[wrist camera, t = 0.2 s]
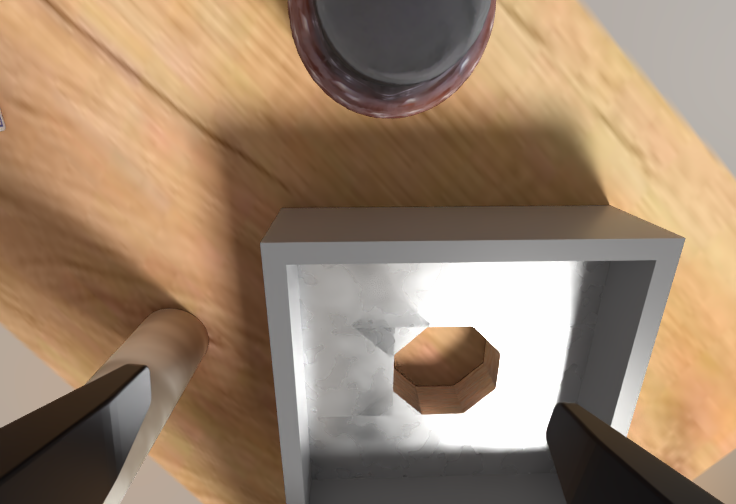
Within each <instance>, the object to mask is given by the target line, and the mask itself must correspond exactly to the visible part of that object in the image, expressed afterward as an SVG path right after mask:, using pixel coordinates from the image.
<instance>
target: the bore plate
mask: <svg viewBox="0 0 736 504" xmlns="http://www.w3.org/2000/svg"><path fill="white" fill-rule="evenodd" d="M609 263H610V261H550V262H470V263H390V264H310V265H297V271H298V286H299V300H300V315H301V330H302V345H303V360H304V375H305V390H306V405H307V420H308V435H309V449H310V464H311V479H312V480H322V479H357V478H391V477H425V476H460V475H494V474H529V473H557V472H556V469H555V466H554V463H553V460H552V457H551V453H550V450H549V447H548V444H547V441H546V428H547V425H548V423H549V420H550V417H551V415H552V412H553V409H554V407H555V405H556V404H557V403H558V402H570V403H576V404H577V402H578V397H579V393H580V389H581V384H582V380H583V376H584V371H585V367H586V363H587V358H588V354H589V350H590V345H591V341H592V337H593V332H594V328H595V324H596V319H597V315H598V311H599V306H600V302H601V298H602V293H603V289H604V285H605V280H606V276H607V272H608V268H609ZM451 326H473V327H474V328H475V329H476V330H477V331H479V332H480V333H481V334H482V335H483V336H484V337H485V338H486V345H485V353H484V362H483V363H482V364H481V365H480V366H478V367H477V368H476V369H475V370H473V371H472V372H471V373H469V374H468V375H467V376H466V377H464V378H463V379H462V380H460V381H459V382H458V383H457V384H455V385H454V386H419V387H416V386H415V385H413V384H412V383H411V382H410V381H409V380H407V379H406V378H405V377H404V376H403V375H401V374H400V373H399V372H398V371H397V370H395V369H394V355H395V354H396V353H397V352H398V351H399V350H401V349H402V348H403V347H404V346H405V345H406V344H408V343H409V342H410V341H411V340H412V339H414V338H415V337H416V336H417V335H418V334H420V333H421V332H422V331H423V330H424V329H425V328H427V327H451Z"/></svg>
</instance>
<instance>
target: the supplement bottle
mask: <svg viewBox="0 0 736 504" xmlns="http://www.w3.org/2000/svg"><path fill="white" fill-rule="evenodd" d="M495 9H496V0H288V14H289V19H290V26H291V31H292V37H293V39H294V42H295V45H296V48H297V51H298V54H299V56H300V58H301V60H302V62H303V64H304V66H305V67H306V69H307V71H308V73H309V74H310V76H311V77H312V79H313V80H314V81H315V82H316V83H317V84H318V86H319V87H320V88H321V89H322V90H323V91H324V92H325V93H326V94H327V95H328V96H330V97H331V98H332V99H333V100H334V101H336V102H337V103H339V104H341V105H342V106H344V107H346V108H347V109H349V110H352V111H354V112H356V113H360V114H363V115H366V116H370V117H375V118H402V117H408V116H412V115H415V114H418V113H421V112H424V111H426V110H429V109H431V108H433V107H434V106H437V105H438V104H440V103H441V102H443V101H444V100H446V99H447V98H448V97H450V96H451V95H452V94H453V93H454V92H456V91H457V90H458V89H459V88H460V86H461V85H462V84H463V83H464V82H465V81H466V80H467V78H468V77H469V76H470V75H471V73H472V72H473V70H474V68H475V67H476V66H477V64H478V62H479V60H480V59H481V57H482V55H483V52H484V50H485V48H486V45H487V43H488V40H489V38H490V34H491V31H492V28H493V22H494V17H495Z"/></svg>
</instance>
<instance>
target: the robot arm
mask: <svg viewBox="0 0 736 504" xmlns="http://www.w3.org/2000/svg"><path fill="white" fill-rule="evenodd" d="M150 404H151V379H150V369H149V367H148V366H147V365H142V364H125V365H123V366H121V367H119V368H117V369H115V370H113V371H111V372H109V373H107V374H105V375H103V376H102V377H100V378H98V379H96V380H94V381H92V382H90V383H88V384H86V385H84V386H82V387H80V388H78V389H76V390H74V391H72V392H70V393H68V394H66V395H64V396H62V397H60V398H58V399H56V400H55V401H53V402H51V403H49V404H47V405H45V406H43V407H41V408H39V409H37V410H35V411H33V412H31V413H29V414H27V415H25V416H23V417H21V418H19V419H17V420H15V421H13V422H11V423H9V424H7V425H5V426H4V427H2V428H0V504H103V503H104V501H105V499H106V498H107V496H108V494H109V492H110V491H111V489H112V487H113V485H114V483H115V482H116V480H117V478H118V476H119V474H120V472H121V470H122V467H123V465H124V463H125V461H126V459H127V456H128V454H129V452H130V450H131V447H132V445H133V443H134V441H135V439H136V436H137V434H138V432H139V430H140V427H141V425H142V423H143V421H144V418H145V416H146V414H147V412H148V409H149V407H150ZM546 441H547V444H548V447H549V450H550V453H551V457H552V460H553V463H554V466H555V469H556V472H557V476H558V479H559V482H560V485H561V488H562V491H563V495H564V498H565V500H566V503H567V504H724V503H723V502H721V501H720V500H718V499H716V498H715V497H714V496H712V495H711V494H709V493H708V492H706V491H705V490H703V489H702V488H701V487H699V486H698V485H696V484H695V483H693V482H692V481H690V480H689V479H687V478H686V477H684V476H683V475H681V474H680V473H678V472H677V471H676V470H674V469H673V468H671V467H670V466H668V465H667V464H665V463H664V462H662V461H661V460H659V459H658V458H656V457H655V456H653V455H652V454H650V453H649V452H648V451H646V450H645V449H643V448H642V447H640V446H639V445H637V444H636V443H634V442H633V441H631V440H630V439H628V438H627V437H625V436H624V435H622V434H621V433H620V432H618V431H617V430H615V429H614V428H612V427H611V426H609V425H608V424H606V423H605V422H603V421H602V420H600V419H599V418H597V417H596V416H595V415H593V414H592V413H590V412H589V411H587V410H586V409H584V408H583V407H581V406H580V405H578V404H576V403H570V402H558V403H557V404H556V405H555V407H554V409H553V412H552V415H551V417H550V420H549V423H548V425H547V428H546Z"/></svg>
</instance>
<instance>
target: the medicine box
mask: <svg viewBox="0 0 736 504" xmlns="http://www.w3.org/2000/svg"><path fill="white" fill-rule="evenodd" d="M5 129H6V127H5V123H4V120H3V116H2V113H1V110H0V131H4V130H5Z"/></svg>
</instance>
